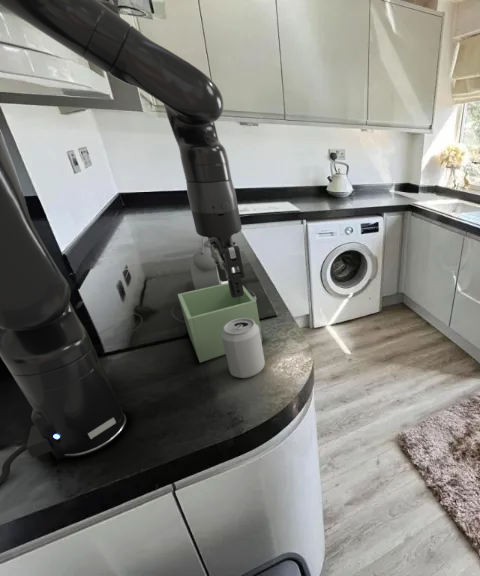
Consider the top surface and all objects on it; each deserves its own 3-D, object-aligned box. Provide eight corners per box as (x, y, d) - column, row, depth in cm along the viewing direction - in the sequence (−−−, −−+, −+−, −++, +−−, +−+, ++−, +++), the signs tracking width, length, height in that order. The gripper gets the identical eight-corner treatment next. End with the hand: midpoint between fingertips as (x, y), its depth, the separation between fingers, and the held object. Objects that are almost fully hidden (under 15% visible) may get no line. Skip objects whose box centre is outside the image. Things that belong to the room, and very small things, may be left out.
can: (269, 358, 77) (262, 315, 72) (259, 380, 70) (251, 334, 65) (237, 358, 77) (228, 315, 71) (224, 380, 70) (213, 334, 65)
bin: (199, 362, 75) (187, 319, 70) (188, 333, 85) (177, 294, 80) (262, 341, 83) (256, 301, 78) (245, 317, 93) (238, 280, 88)
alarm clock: (229, 312, 95) (214, 241, 86) (197, 314, 94) (179, 242, 84) (240, 288, 110) (228, 225, 100) (212, 290, 108) (198, 225, 99)
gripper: (184, 201, 60) (203, 280, 67) (199, 217, 50) (220, 308, 57) (226, 197, 64) (240, 272, 71) (249, 211, 54) (262, 296, 61)
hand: (231, 288), depth 64 cm, fingers open, 8 cm apart
